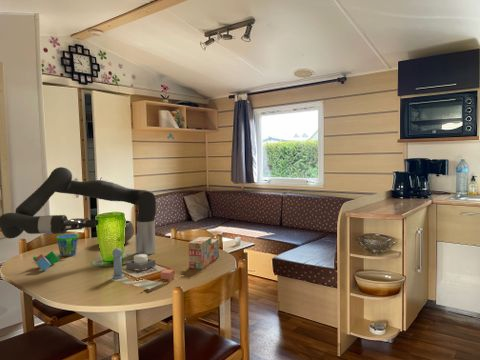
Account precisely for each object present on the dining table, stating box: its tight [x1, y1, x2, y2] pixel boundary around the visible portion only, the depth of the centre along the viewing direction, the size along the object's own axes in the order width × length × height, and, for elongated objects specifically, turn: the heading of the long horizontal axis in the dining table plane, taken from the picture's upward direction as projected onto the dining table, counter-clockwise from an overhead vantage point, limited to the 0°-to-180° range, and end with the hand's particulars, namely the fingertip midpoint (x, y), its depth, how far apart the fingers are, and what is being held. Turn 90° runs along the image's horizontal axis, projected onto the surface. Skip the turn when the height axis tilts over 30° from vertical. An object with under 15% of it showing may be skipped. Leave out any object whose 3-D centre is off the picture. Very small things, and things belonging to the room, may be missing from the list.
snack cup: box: [55, 233, 80, 258], centre depth 195 cm, size 16×10×10 cm
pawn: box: [111, 247, 125, 280], centre depth 155 cm, size 4×4×12 cm
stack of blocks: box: [188, 236, 220, 270], centre depth 180 cm, size 21×6×12 cm, turn 161°
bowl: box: [125, 220, 135, 243], centre depth 221 cm, size 18×18×13 cm
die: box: [160, 268, 175, 283], centre depth 155 cm, size 4×4×4 cm
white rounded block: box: [133, 253, 149, 264], centre depth 169 cm, size 6×6×5 cm
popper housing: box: [125, 258, 156, 270], centre depth 170 cm, size 9×9×4 cm
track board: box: [107, 276, 164, 293], centre depth 151 cm, size 24×8×1 cm, turn 60°
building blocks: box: [32, 250, 60, 271], centre depth 174 cm, size 8×8×12 cm
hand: (96, 223), depth 154 cm, fingers open, 4 cm apart
